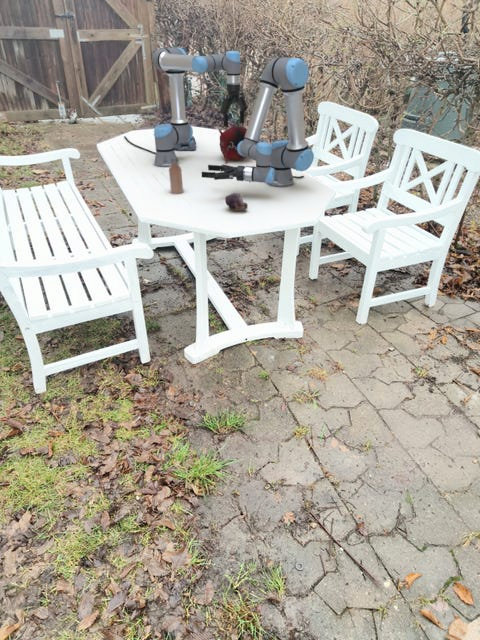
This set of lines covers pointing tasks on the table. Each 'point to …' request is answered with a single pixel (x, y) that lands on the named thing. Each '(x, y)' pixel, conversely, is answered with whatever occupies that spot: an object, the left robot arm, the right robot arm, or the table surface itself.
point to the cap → (174, 159)
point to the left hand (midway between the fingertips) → (234, 125)
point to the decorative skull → (232, 142)
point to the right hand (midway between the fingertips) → (205, 170)
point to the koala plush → (186, 145)
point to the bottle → (175, 178)
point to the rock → (235, 202)
